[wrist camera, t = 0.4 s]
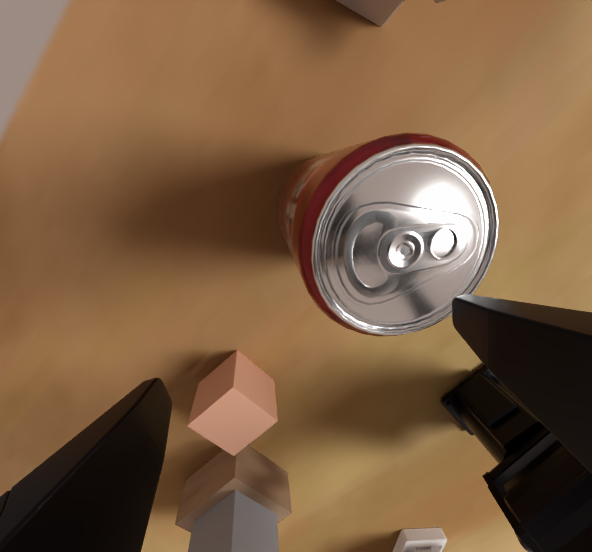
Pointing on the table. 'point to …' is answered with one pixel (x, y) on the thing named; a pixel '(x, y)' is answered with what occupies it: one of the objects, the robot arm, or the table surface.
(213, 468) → the translucent square block
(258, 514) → the grey cube
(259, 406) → the terracotta cube
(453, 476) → the table surface
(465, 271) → the soda can
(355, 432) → the table surface
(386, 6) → the lighter
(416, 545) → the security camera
